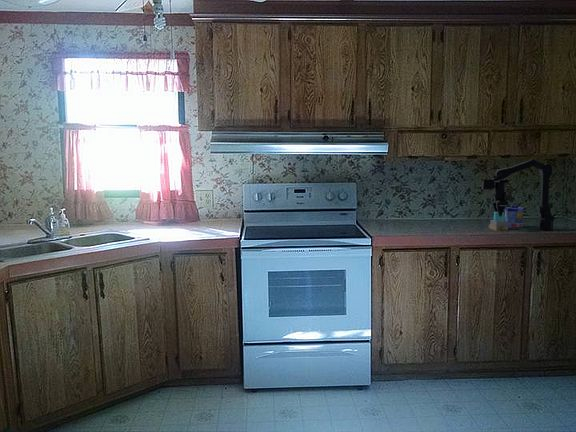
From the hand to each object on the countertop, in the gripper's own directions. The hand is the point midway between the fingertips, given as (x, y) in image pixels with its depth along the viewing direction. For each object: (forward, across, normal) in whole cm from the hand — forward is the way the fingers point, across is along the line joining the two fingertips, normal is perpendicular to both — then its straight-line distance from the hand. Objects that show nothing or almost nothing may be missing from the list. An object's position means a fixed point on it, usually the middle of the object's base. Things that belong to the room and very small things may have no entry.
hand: (498, 215), depth 303 cm
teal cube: (+3, 0, 0) cm, 3 cm away
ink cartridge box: (+9, +10, -11) cm, 18 cm away
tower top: (+6, 0, 0) cm, 6 cm away
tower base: (+9, 0, 0) cm, 9 cm away
